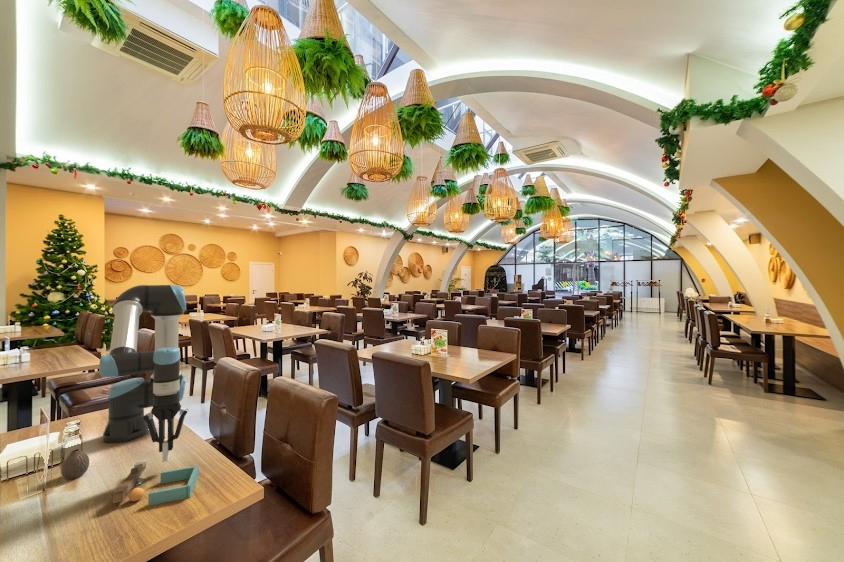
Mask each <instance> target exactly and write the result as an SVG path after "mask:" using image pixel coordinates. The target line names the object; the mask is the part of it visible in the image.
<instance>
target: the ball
mask: <svg viewBox="0 0 844 562" xmlns="http://www.w3.org/2000/svg"><path fill="white" fill-rule="evenodd" d="M144 494H145V490H144V489H143V488H142V487H134V489H133V488H132V489H131V490H130V492H129V493H128V499H129V501H131V502H138V501H139V500H141V499H142V498H143V496H144Z"/></svg>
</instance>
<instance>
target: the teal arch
mask: <svg viewBox="0 0 844 562" xmlns="http://www.w3.org/2000/svg"><path fill="white" fill-rule="evenodd" d="M198 477H199V465H193V466H187V467H186V466H185V467H181V468H175V469H170V470H164V471H161V472H160V485H162V484H167V483H168V484H169V483H172V482H173V483H174V482H177V481H183V480H188V482H187V484H185V485H179V486H174V487H170V488H164V489H158V490H155V491H150V492H148V495H147V496H148V503H147V504H148V506H154V505H158V504H164V503H168V502H174V501H178V500H179V501H180V500H183V499H184V500H185V499H187V498H188V499H189V498H191V496H192V494H193V492H194V488H195V487H196V486H195V485H196V482H197V479H198Z"/></svg>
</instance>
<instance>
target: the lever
mask: <svg viewBox="0 0 844 562" xmlns="http://www.w3.org/2000/svg"><path fill="white" fill-rule="evenodd" d="M146 468H147V460H146V459H140V460H136V462H135V464H134V465H133V468H131V469H130V472H129V474H128V475H127V477H126V478H125V479H124V481H123V482H122V484H118V485H117V486H116V487H115V488H114V490H113V492H112V504H116V503H122V502H124V501H125V499H126V498H127V496H129V494H130V492H131V491H132V490H133V488H134V487H133V486H134V484H135V483H136V481H138V478H141V475H142V474H143V472H144V471H145V469H146Z"/></svg>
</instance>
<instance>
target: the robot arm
mask: <svg viewBox="0 0 844 562" xmlns="http://www.w3.org/2000/svg"><path fill="white" fill-rule="evenodd" d="M111 311H112V313H113V315H114V320H113V327H112V333H111V340H110V347H109V353H108V354H106V355H102V356H100V358H99V362H98V363H99V365H98V368H99V371H98V372H99V376H100V377H101V378H112V377H113V378H115V377H121V376H130V375H137V374H146V373H152V374H151V375H150V378H149V380H145V378H144V377H134V378H129V379H124V380H121V381H119V382H116V383H114V384H112V385H111V386H110V387H109V389H108V396H107V398H108V420H107V423H106V426H105V428H104V431H103V434H102V442H104V441H105V442H104V443H106V442H110V443H109V444H112V443H111V442H117V443H123V441H124V442H127V441H133V440H135V439H138V438H140V437H139V436H141V435H143V434H145V433H146V432H147V431H148V429H149V431H148V432H147V433H149V434H150V438H151V441H152V443H157V444H158V452H159V453H161V456H162V457H161V458H162V461H161V462H162V463H167V462H168V461H169V460H170V458H171V456H170V455H171V453H170V451H172V450H173V448H174V440H177V439H178V438H179V437H180V436H181V435H180V434H181V431H182V427H183V425H184V421H185V417H186V415H187V413H188V412H189V409H188V408H186V409H185V408H183V407H182V405H181V403H180V402H181V401H182V400H183V398H184V395H185V389H186V382H187V381H186V380H187V378H186V375H183V372H182V371H181V369H180V368H181V365H180V364H181V363H180V362H181V360H180V359H181V354H180V349H179V330H180V329H179V328H180V327H179V323H180V322H179V319H180V318H181V317H182V316H183V312H185V311H187V302H186V296H185V289H184V288H183V286H181V285H175V284H159V285H158V284H155V285H154V284H153V285H152V284H151V285H148V284H141V285H135V286H132V287H130V288H128V289H126V290H125V291H122V293H121V294H119V296H117V298H116V299H115V301H114V302H113V306H112V310H111ZM143 312H144V313H146V312H147V313H150V316H151V317H152V318H153V319H154V350H151V351H150V350H149V351H141V352H137V351H138V350H137V349H138V340H139V339H138V337H139V335H138V334H139V327H140V326H139V325H140V324H139V322H140V316H141V315H142V314H143ZM147 408H151V410H150V412H148V413H146V414H145V409H147ZM178 413H179V419H178V422H177V425H176V429H175V428H174V427H175V426H174V425H175V422H174V421H175V420H174V419H175V417H176V415H177V414H178ZM153 417H155V419H156V420H158V430H157V428H156V424H155V421H154V418H153ZM166 422H167V423H166ZM166 424H167V439H166ZM174 429H175V430H174ZM174 431H175V433H174ZM147 433H146V434H147ZM146 434H145V435H146ZM143 436H144V435H143ZM137 437H138V438H137ZM141 437H142V436H141ZM134 438H135V439H134Z"/></svg>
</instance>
